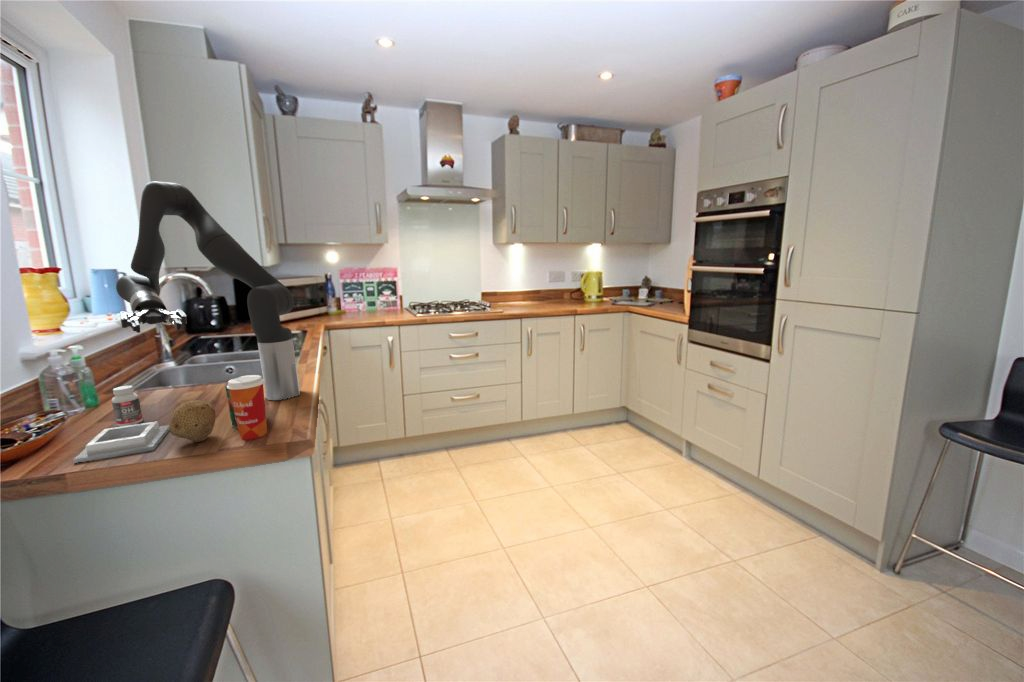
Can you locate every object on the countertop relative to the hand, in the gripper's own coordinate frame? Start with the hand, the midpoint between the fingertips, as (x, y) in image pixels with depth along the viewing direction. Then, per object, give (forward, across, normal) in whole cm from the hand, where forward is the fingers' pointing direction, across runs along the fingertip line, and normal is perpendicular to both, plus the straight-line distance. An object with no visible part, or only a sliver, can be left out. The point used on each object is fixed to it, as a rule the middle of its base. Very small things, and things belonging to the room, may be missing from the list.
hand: (158, 328), depth 123 cm
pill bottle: (+8, -8, +23) cm, 26 cm away
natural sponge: (+35, +1, +15) cm, 38 cm away
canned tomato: (+31, +14, +15) cm, 37 cm away
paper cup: (+40, +12, +12) cm, 44 cm away
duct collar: (+24, -10, +18) cm, 32 cm away
